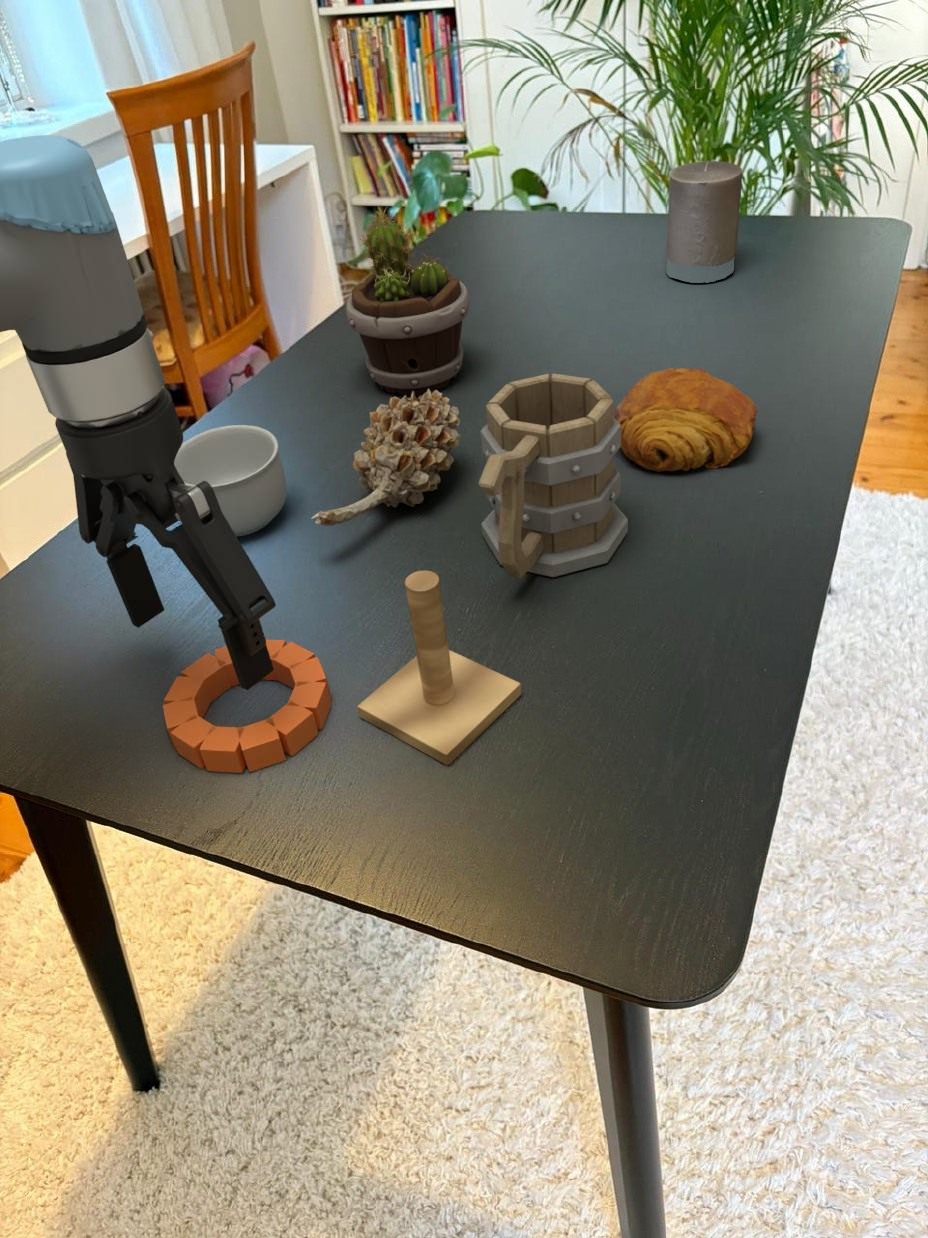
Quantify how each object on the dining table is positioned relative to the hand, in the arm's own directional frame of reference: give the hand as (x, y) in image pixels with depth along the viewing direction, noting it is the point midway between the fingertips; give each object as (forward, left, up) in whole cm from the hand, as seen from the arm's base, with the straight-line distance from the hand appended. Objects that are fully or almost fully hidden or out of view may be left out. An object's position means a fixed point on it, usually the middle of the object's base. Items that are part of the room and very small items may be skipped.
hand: (200, 646), depth 77 cm
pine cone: (-5, +28, -5) cm, 29 cm away
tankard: (+12, +29, -5) cm, 31 cm away
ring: (+5, 0, -5) cm, 7 cm away
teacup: (-19, +18, -5) cm, 27 cm away
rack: (+17, +9, -5) cm, 19 cm away
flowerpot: (-23, +52, -5) cm, 57 cm away
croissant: (+13, +54, -5) cm, 55 cm away
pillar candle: (-9, +97, -5) cm, 98 cm away
